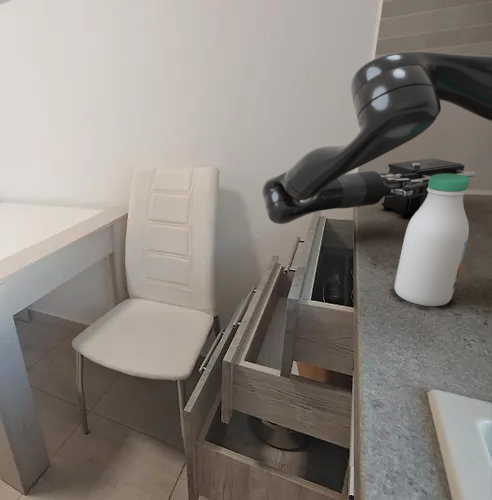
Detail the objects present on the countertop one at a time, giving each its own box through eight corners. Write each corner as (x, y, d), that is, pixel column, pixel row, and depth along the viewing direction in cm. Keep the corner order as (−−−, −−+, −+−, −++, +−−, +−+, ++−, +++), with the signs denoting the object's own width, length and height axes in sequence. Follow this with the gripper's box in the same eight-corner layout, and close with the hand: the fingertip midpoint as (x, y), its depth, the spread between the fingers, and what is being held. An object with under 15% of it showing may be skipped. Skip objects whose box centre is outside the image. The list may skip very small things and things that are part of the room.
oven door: (469, 210, 86) (480, 168, 82) (398, 220, 85) (406, 178, 81) (452, 205, 90) (462, 164, 86) (385, 214, 89) (392, 174, 85)
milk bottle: (444, 313, 56) (479, 186, 48) (387, 297, 62) (410, 180, 53) (455, 292, 61) (489, 172, 53) (401, 279, 66) (424, 168, 58)
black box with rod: (449, 212, 91) (462, 160, 86) (404, 218, 90) (414, 166, 85) (423, 203, 99) (433, 154, 93) (380, 208, 98) (388, 160, 93)
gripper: (378, 180, 73) (458, 170, 74) (336, 167, 86) (405, 158, 87) (372, 216, 76) (449, 205, 77) (332, 197, 89) (399, 188, 90)
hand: (425, 180), depth 82 cm, fingers open, 4 cm apart
